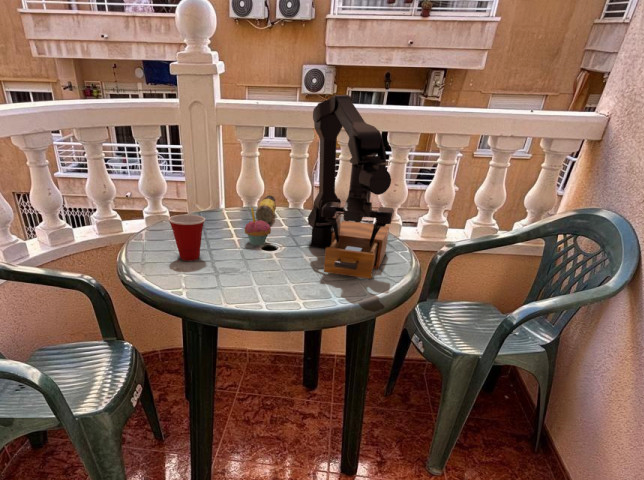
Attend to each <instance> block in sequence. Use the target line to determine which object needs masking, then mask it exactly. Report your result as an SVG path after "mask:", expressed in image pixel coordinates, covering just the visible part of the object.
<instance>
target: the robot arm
mask: <svg viewBox="0 0 644 480" xmlns="http://www.w3.org/2000/svg"><path fill="white" fill-rule="evenodd" d="M312 120H313V124H314V125H313V126H314V130H315V132H316V134H317V137H318V138H319V165H318V166H319V167H318V168H319V169H318V170H319V171H318V172H319V173H318V176H319V177H318V193H317V195H316V197H315V199H314V200H313V205H312V209H311V211H310V213H309V215H308V216H307V225H309V226H310V227H311V240H310V243H309V247H313V248H314V247H315V248H321V249H326V248H327V247H329V248H330V246H331V241H332V234H333V232H334V233H335V237H336V241H337V243H338V242H339V238H340V223H341V217H342V216H343V221H352V222H361V223H362V222H363V219H364V218H372V219H375V222H374V223H373V224H374V228H373V232H372V236H371V239H370V245H369V246H370V247H371V245H372V243H373V241H374V239H375V237H376V235H377V232H378V231H379V229H380V228H381V227H385V226H386V225H391V224H392V222H393V219H394V218H395V217H394V216H395V210H394V208H393V207H389V206H388V207H387V206H379V208H378V209H377V210H375V209H373V202H371V196H372V194H374V195H376V196H379V195H383V194H385V193H386V192H387V191H388V190H389V189H390V187H391V183H392V176H391V173H390V172H389V171H388V170H386V167H387V165H386V164H387V152H386V148H385V144H384V138H383V136H382V133H381V131H380V129H378V128H377V127H376V126H374V125H372V124H370V123H367V122H366V121H365V120H364V118H363V117H362V115H361V113H360V112H359V111H358V109H357V107H356V106H355V104H354V103H353V98H352V96H351V95H349V94H334V95H332V96H331V97H329V98H328V99H326V100H324V101H321V102H318V103H317V104H316V106H315V107H314V108H313V110H312ZM342 129H343V130H344V131H345V133H346V134H347V136H348V141H347V147H348V150H349V153H350V156H351V157H350V159H349V163H350V164H351V170H350V178H349V179H350V180H349V190H348V195H347V198H346V200H345V204H344V206H341V203H342V201H341V199H340V198H339V197H338V196H337V194H336V171H337V169H336V168H337V167H336V164H337V139H338V136H339V134H340V133H341V131H342Z"/></svg>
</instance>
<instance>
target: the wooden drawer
mask: <svg viewBox="0 0 644 480" xmlns="http://www.w3.org/2000/svg"><path fill="white" fill-rule="evenodd" d="M378 244H379V242H373V243H372V245H371V247H370V246H369V245H370V241H364V240H355V239H347V238H339V242H338V243H337V241H336V239H335V241H334V242H333V244H332V245H331V246H330V248H329V247H327V248H325V251H324V253H325V254H324V265H323V273H327V274H336V275H342V276H349V277H357V278H363V279H364V278H365V279H372V277H373V266H374V264H375V262H376V258H377V251H378ZM347 246H350V247H358V248H362V252H361V251H353V250H345V249H346V247H347Z"/></svg>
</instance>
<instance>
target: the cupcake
mask: <svg viewBox="0 0 644 480" xmlns="http://www.w3.org/2000/svg"><path fill="white" fill-rule="evenodd" d="M250 207H251V217H252V220H251V221H249V222H247V224H246V225H245V226H244V234H246V235H247V237H248V240H249V243H250V245H252V246H263V245H265V244H266V240H267V237H268V235H270V234H271V233H272V228H271V225H270V223H266V222H265V221H261V220H257V219H256V215H255V212H254V210H255V209H254V207H253V205H251V206H250Z"/></svg>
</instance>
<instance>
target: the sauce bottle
mask: <svg viewBox="0 0 644 480" xmlns="http://www.w3.org/2000/svg"><path fill="white" fill-rule="evenodd" d="M276 209H277V205H276V199H275V197H274V195H267V196H265V197H263V198H262V199H261V200H260V202H259V203H258V206H257V209H256V210H255V211H256V212H255V220H261V221H265V222H266V223H268V224H270V222H271V221H272V220H273V217H274V215H275V212H276Z"/></svg>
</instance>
